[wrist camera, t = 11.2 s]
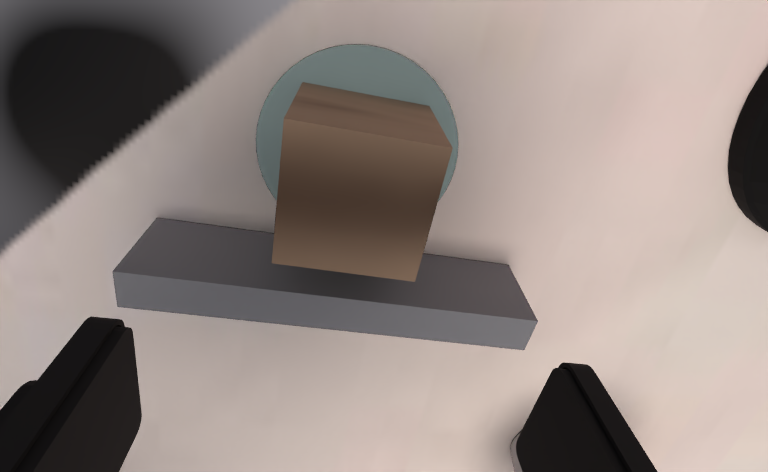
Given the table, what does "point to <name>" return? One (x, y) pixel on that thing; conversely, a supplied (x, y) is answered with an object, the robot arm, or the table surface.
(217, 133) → the table surface
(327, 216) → the cube
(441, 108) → the mat
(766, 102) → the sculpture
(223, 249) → the bar
